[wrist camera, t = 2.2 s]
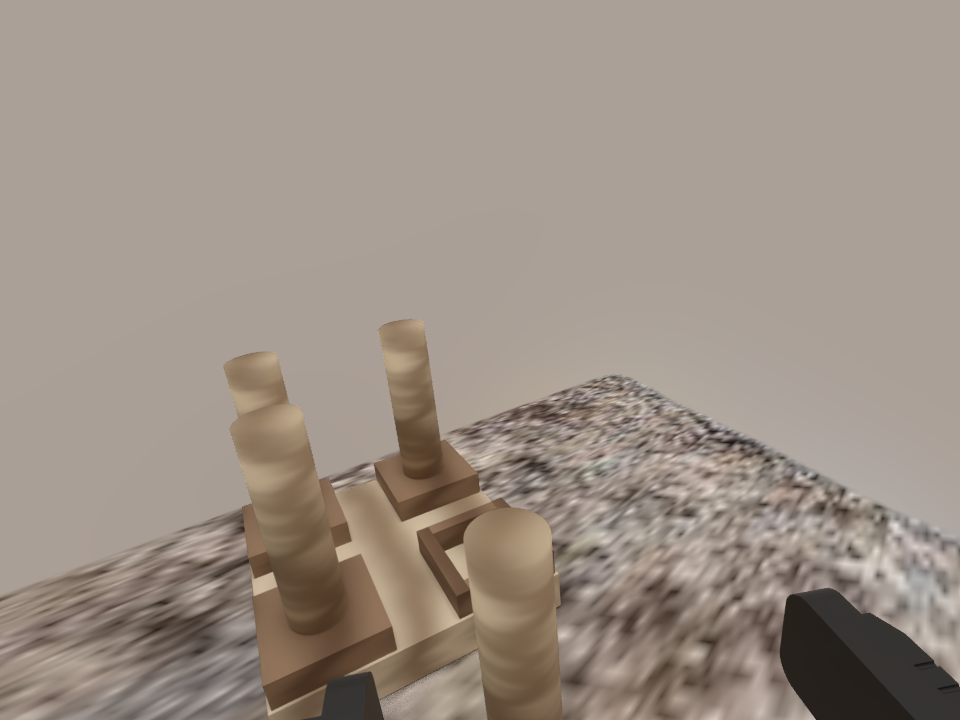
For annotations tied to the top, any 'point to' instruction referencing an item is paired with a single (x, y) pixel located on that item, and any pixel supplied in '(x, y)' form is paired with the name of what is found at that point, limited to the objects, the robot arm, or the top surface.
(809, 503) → the top surface
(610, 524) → the top surface
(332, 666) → the stool seat
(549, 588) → the stool leg
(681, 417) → the top surface
